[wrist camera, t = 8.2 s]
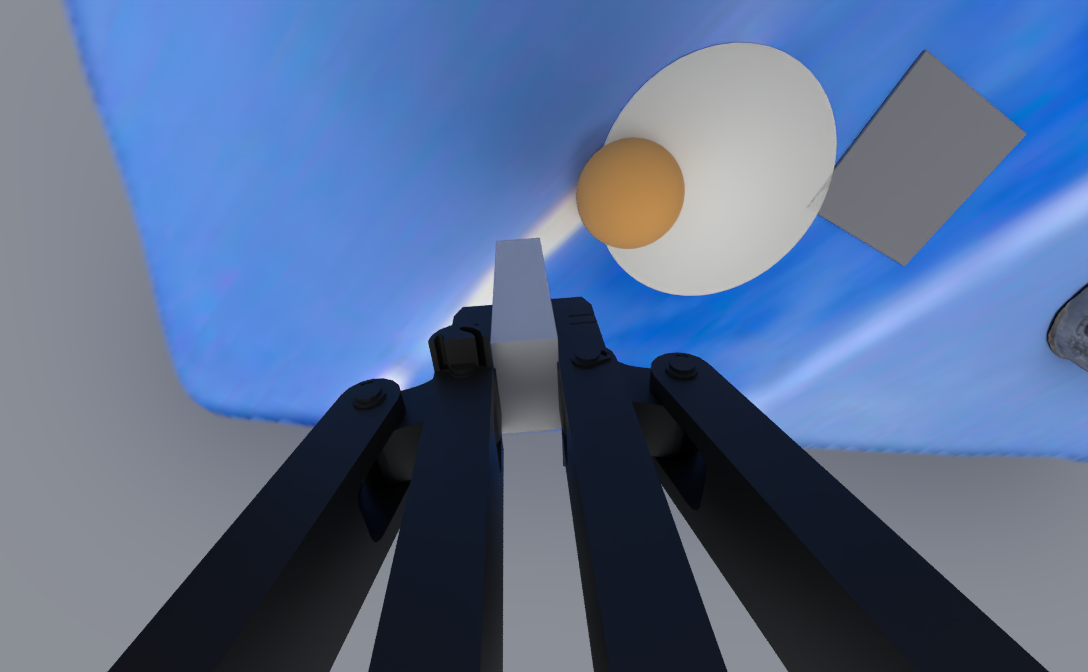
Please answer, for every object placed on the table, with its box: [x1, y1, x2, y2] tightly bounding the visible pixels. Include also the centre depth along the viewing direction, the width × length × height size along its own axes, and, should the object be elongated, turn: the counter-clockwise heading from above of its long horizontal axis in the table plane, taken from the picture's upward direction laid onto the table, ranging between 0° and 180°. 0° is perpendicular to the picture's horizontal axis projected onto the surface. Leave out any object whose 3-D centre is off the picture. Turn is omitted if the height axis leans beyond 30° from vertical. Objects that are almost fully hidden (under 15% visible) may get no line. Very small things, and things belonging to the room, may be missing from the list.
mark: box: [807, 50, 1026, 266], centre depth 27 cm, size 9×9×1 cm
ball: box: [576, 137, 685, 249], centre depth 24 cm, size 6×6×6 cm
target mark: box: [604, 43, 837, 296], centre depth 27 cm, size 14×14×1 cm
